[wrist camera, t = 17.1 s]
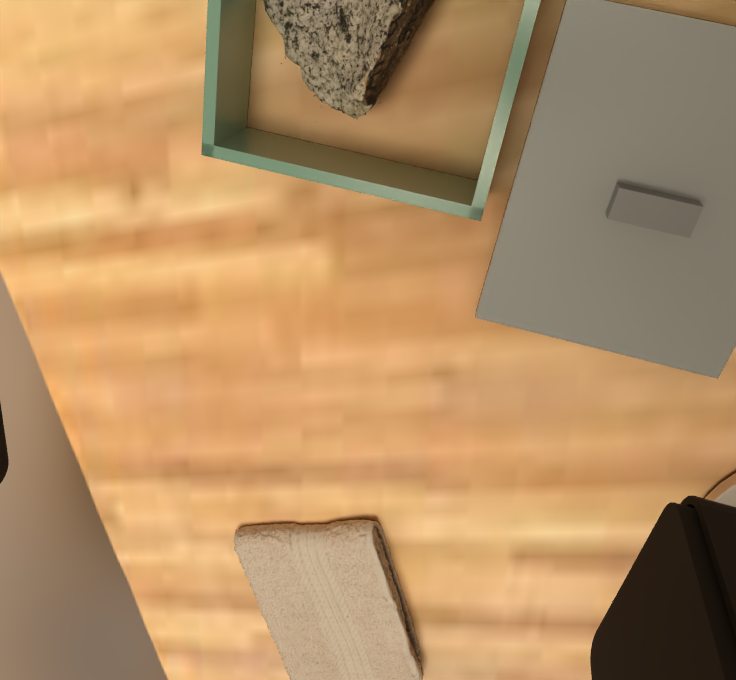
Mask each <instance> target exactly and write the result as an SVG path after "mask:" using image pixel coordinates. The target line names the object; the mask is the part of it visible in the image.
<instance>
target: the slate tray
mask: <svg viewBox="0 0 736 680" xmlns="http://www.w3.org/2000/svg"><path fill="white" fill-rule="evenodd" d="M475 318H479V319H483V320H487V321H491V322H495V323H499V324H503V325H507V326H511V327H515V328H519V329H523V330H527V331H531V332H535V333H539V334H542V335H546V336H550V337H554V338H558V339H562V340H566V341H570V342H574V343H578V344H582V345H586V346H590V347H594V348H598V349H602V350H606V351H610V352H614V353H618V354H622V355H626V356H630V357H634V358H638V359H642V360H646V361H650V362H654V363H658V364H662V365H666V366H670V367H674V368H678V369H682V370H686V371H690V372H694V373H698V374H702V375H705V376H709V377H713V378H717V379H718V377H719V376H720V374H721V372H722V370H723V368H724V366H725V364H726V362H727V361H728V359H729V357H730V355H731V353H732V351H733V349H734V348H735V346H736V26H731V25H726V24H721V23H716V22H711V21H706V20H701V19H696V18H691V17H686V16H681V15H676V14H671V13H666V12H661V11H657V10H652V9H647V8H642V7H637V6H632V5H627V4H622V3H617V2H612V1H607V0H566V2H565V5H564V9H563V12H562V16H561V19H560V23H559V26H558V30H557V33H556V36H555V40H554V43H553V47H552V50H551V54H550V57H549V61H548V64H547V68H546V71H545V75H544V78H543V81H542V85H541V88H540V92H539V95H538V99H537V102H536V106H535V109H534V113H533V116H532V119H531V123H530V126H529V130H528V133H527V137H526V140H525V144H524V147H523V151H522V154H521V157H520V161H519V164H518V168H517V171H516V175H515V178H514V182H513V185H512V189H511V192H510V196H509V199H508V202H507V206H506V209H505V213H504V216H503V220H502V223H501V227H500V230H499V234H498V237H497V240H496V244H495V247H494V251H493V254H492V258H491V261H490V265H489V268H488V272H487V275H486V278H485V282H484V285H483V289H482V292H481V296H480V299H479V303H478V306H477V310H476V314H475Z"/></svg>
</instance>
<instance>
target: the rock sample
mask: <svg viewBox="0 0 736 680" xmlns="http://www.w3.org/2000/svg"><path fill="white" fill-rule="evenodd" d="M263 1H264V5H265V10H266V12H267V14H268V15H269V17H270V19H271V21H272V23H273V24H274V25H275V26H276V28H277V30H278V31H279V33H280V34H281V35H282V37H283V39H284V44H285V55H286V56H287V57H288V58H289V59H290V60H291V61H292V62H294V63H296V64H297V65H299V66H300V67H301V73H302V78H303V80H304V81H305V83H306V85H307V86H308V88H309V89H310V90H312V91H314V92H315V94H316V96H317V97H318V98H319V99H320V100H321V101H322V102H324V103H327V104H329V105H330V106H331V107H332V108H334V109H336V110H340V111H342V112H343V113H346V114H348V115H349V116H352V117H353V118H358V117H359V116H362V115H366V112H367V111H369V110H370V109H371V108H372V107H373V106H374V104H375V103H376V100H377V98H378V96H379V94H380V93H381V92H382V90H383V89H384V88H385V86H386V84H387V82H388V80H389V78H390V77H391V75H392V73H393V71H394V69H395V67H396V66H397V65H398V64H399V62H400V60H401V59H402V57H403V55H404V54H405V52H406V51H407V49H408V47H409V44H410V42H411V39H412V38H413V36H414V34H415V32H416V31H417V29H418V27H419V26H420V24H421V22H422V19H423V17H424V15H425V13H426V12H427V11H428V9H429V7H430V6H431V5H432V3H433V2H434V0H263ZM285 58H286V57H285ZM281 64H282V63H281ZM243 77H244V76H243ZM314 96H315V95H314ZM380 103H381V102H380ZM321 109H322V105H321Z"/></svg>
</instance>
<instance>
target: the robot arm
mask: <svg viewBox="0 0 736 680" xmlns="http://www.w3.org/2000/svg"><path fill="white" fill-rule="evenodd" d="M7 469H8V453H7V446H6V439H5V433H4V426H3V418H2V411H1V404H0V483H1V482H2V480H3V479H4V477H5V475H6V472H7ZM590 659H591V674H592V680H736V473H735V474H733V475H732V476H730V477H729V478H727V479H726V480H724V481H723V482H721V483H720V484H719V485H718V486H716V487H715V488H714V489H713V490H712V491H711V492H710V493H709V494H708V495H707V496H706V497H705V499H704V498H700V497H696V496H688V497H686V498H685V499H684V500H683V501H682V503H681V504H677V503H674V502H673V503H669V504H668V505H667V506H666V507H665V508H664V510H663V512H662V513H661V515H660V517H659V519H658V521H657V523H656V524H655V526H654V528H653V530H652V532H651V533H650V535H649V537H648V539H647V541H646V542H645V544H644V546H643V548H642V550H641V552H640V553H639V555H638V557H637V559H636V561H635V562H634V564H633V566H632V568H631V570H630V571H629V573H628V575H627V577H626V579H625V581H624V582H623V584H622V586H621V588H620V590H619V591H618V593H617V595H616V597H615V599H614V600H613V602H612V604H611V606H610V608H609V610H608V611H607V613H606V615H605V617H604V619H603V620H602V622H601V624H600V626H599V628H598V629H597V631H596V633H595V636H594V639H593V642H592V648H591V657H590Z"/></svg>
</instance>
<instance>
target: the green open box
mask: <svg viewBox="0 0 736 680" xmlns="http://www.w3.org/2000/svg"><path fill="white" fill-rule="evenodd" d="M540 1H541V0H525V1H524V5H523V9H522V13H521V17H520V20H519V24H518V28H517V32H516V36H515V40H514V43H513V47H512V51H511V55H510V59H509V63H508V66H507V70H506V74H505V78H504V82H503V86H502V89H501V93H500V97H499V101H498V105H497V109H496V112H495V116H494V120H493V124H492V128H491V132H490V136H489V139H488V143H487V147H486V151H485V155H484V159H483V162H482V166H481V170H480V174H479V178H478V181H477V180H473V179H468V178H464V177H460V176H455V175H451V174H447V173H442V172H438V171H434V170H429V169H425V168H421V167H416V166H412V165H408V164H403V163H399V162H395V161H391V160H386V159H382V158H378V157H373V156H369V155H365V154H360V153H356V152H352V151H347V150H343V149H339V148H334V147H330V146H326V145H321V144H317V143H313V142H308V141H304V140H300V139H295V138H291V137H287V136H282V135H278V134H274V133H269V132H265V131H261V130H256V129H252V128H248V127H247V116H248V102H249V89H250V75H251V62H252V49H253V35H254V22H255V8H256V0H208V11H207V36H206V60H205V84H204V109H203V133H202V155H204V156H208V157H213V158H217V159H221V160H225V161H229V162H234V163H238V164H242V165H246V166H251V167H255V168H259V169H263V170H267V171H272V172H276V173H280V174H284V175H288V176H293V177H297V178H301V179H305V180H310V181H314V182H318V183H322V184H326V185H331V186H335V187H339V188H343V189H347V190H352V191H356V192H360V193H364V194H369V195H373V196H377V197H381V198H385V199H390V200H394V201H398V202H402V203H407V204H411V205H415V206H419V207H423V208H428V209H432V210H436V211H440V212H444V213H449V214H453V215H457V216H461V217H466V218H470V219H474V220H478V221H481V218H482V215H483V211H484V207H485V203H486V200H487V196H488V192H489V189H490V185H491V181H492V178H493V174H494V170H495V167H496V163H497V159H498V156H499V152H500V148H501V145H502V141H503V137H504V134H505V130H506V126H507V123H508V119H509V115H510V111H511V108H512V104H513V100H514V97H515V93H516V89H517V86H518V82H519V78H520V75H521V71H522V67H523V64H524V60H525V56H526V53H527V49H528V45H529V42H530V38H531V34H532V31H533V27H534V23H535V19H536V16H537V12H538V8H539V5H540ZM243 76H244V77H243Z"/></svg>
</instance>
